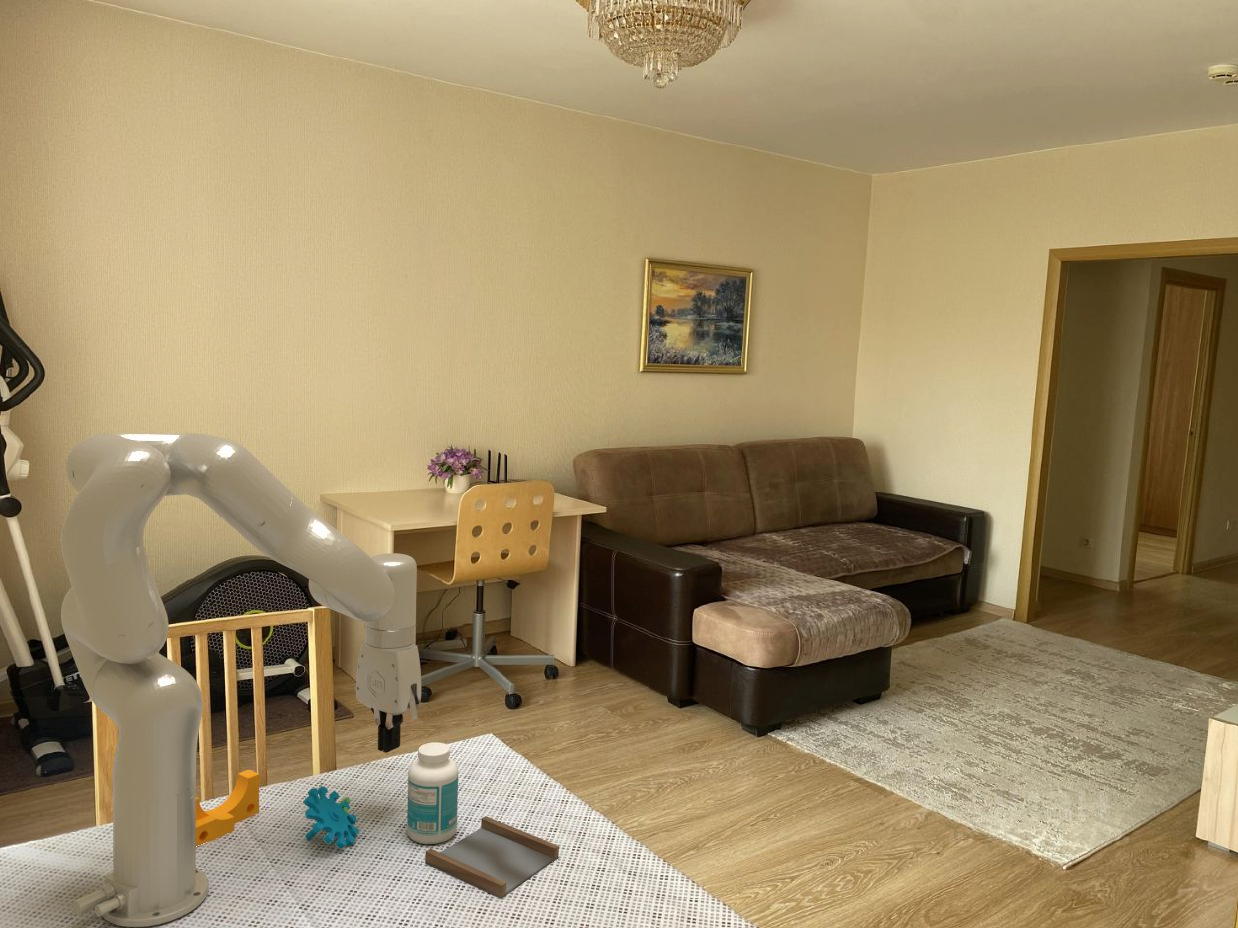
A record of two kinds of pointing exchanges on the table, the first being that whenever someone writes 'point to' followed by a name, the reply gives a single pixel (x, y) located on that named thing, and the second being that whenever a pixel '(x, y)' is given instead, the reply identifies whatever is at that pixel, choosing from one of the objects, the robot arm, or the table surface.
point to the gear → (330, 817)
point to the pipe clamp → (229, 809)
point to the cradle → (494, 857)
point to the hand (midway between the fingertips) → (389, 748)
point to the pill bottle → (432, 795)
